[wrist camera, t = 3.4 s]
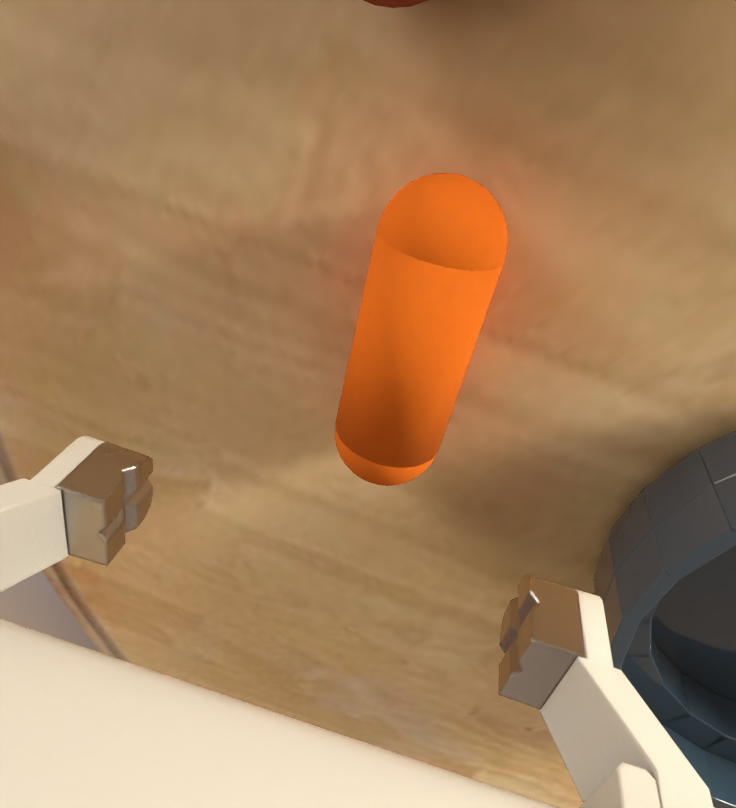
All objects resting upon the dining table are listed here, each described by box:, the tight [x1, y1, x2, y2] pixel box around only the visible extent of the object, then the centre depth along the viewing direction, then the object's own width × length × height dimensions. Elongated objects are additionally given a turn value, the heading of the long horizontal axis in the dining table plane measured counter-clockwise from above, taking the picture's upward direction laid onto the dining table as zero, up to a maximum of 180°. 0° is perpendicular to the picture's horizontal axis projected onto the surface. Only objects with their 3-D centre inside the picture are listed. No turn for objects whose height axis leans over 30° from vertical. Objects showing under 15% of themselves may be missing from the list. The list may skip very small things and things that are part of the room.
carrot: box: [335, 173, 508, 486], centre depth 20 cm, size 12×4×4 cm, turn 168°
